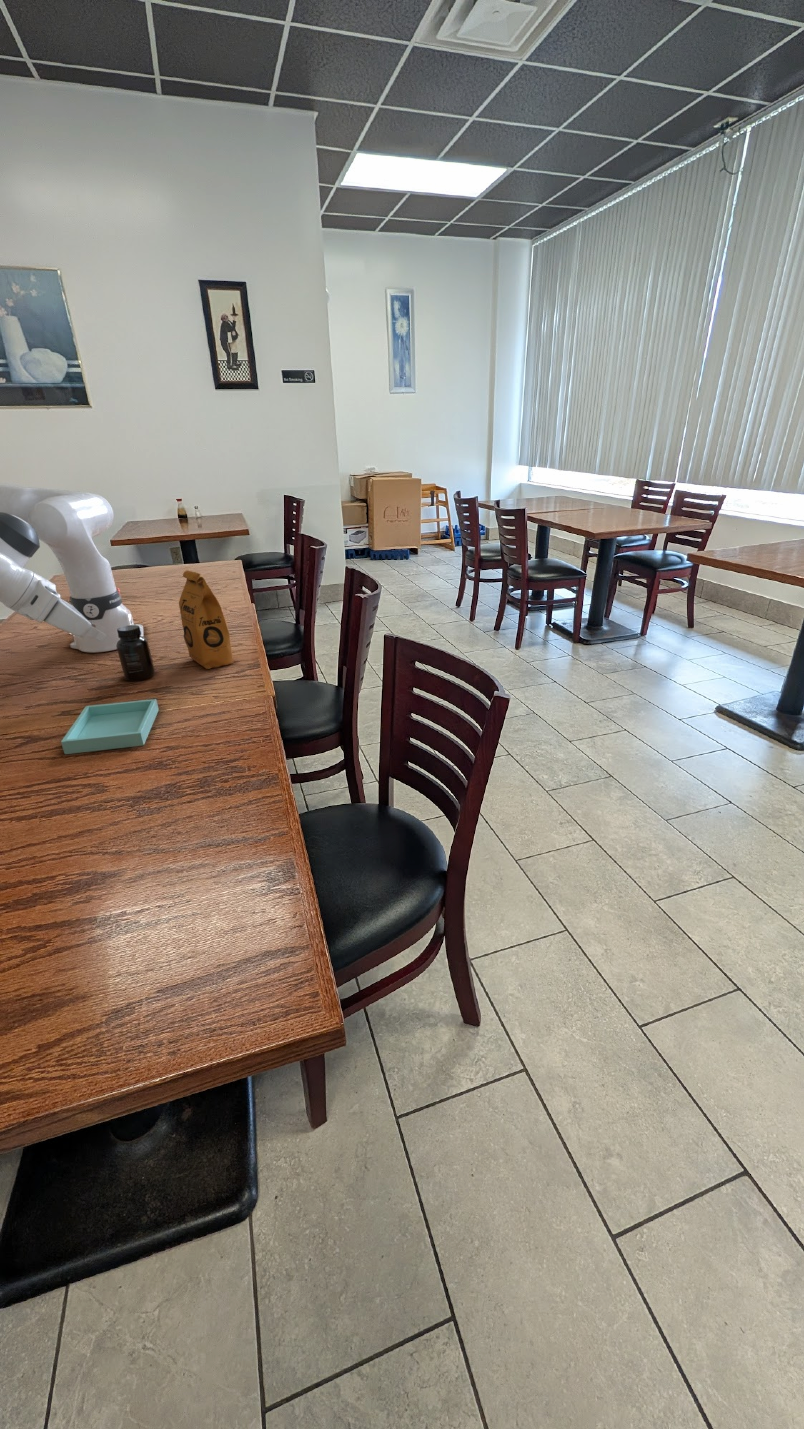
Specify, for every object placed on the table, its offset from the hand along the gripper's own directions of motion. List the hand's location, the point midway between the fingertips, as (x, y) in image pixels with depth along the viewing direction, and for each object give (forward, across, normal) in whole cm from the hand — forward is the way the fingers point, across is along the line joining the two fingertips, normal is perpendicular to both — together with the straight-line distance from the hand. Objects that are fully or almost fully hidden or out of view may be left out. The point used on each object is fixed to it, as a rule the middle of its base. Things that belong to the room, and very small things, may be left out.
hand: (98, 633), depth 130 cm
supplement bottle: (+13, 0, -4) cm, 14 cm away
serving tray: (+5, +26, -13) cm, 30 cm away
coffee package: (+25, +2, +8) cm, 27 cm away
